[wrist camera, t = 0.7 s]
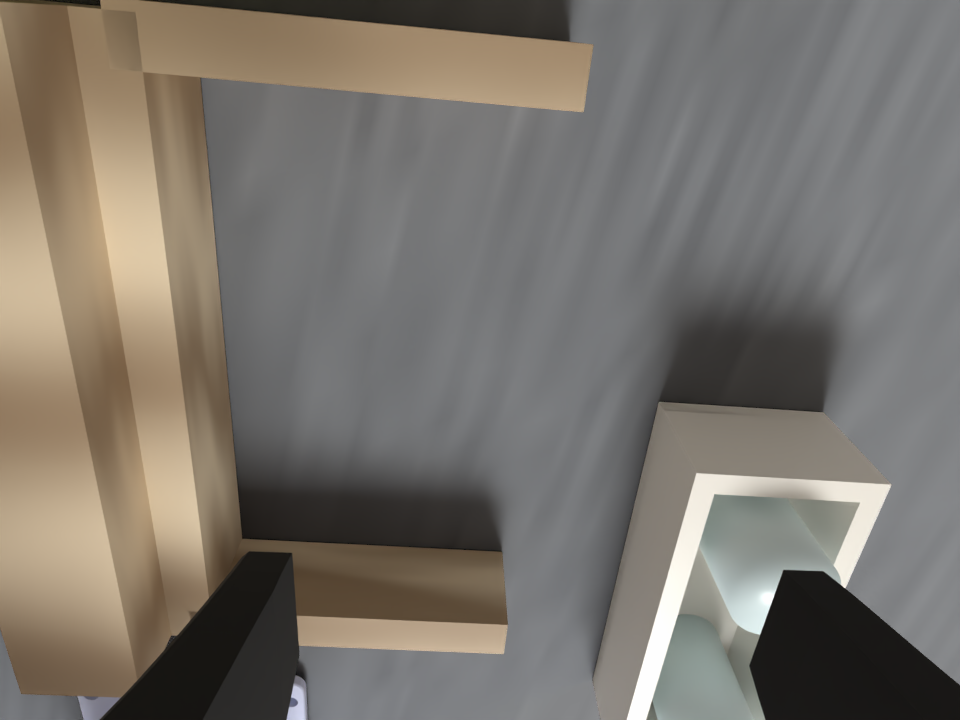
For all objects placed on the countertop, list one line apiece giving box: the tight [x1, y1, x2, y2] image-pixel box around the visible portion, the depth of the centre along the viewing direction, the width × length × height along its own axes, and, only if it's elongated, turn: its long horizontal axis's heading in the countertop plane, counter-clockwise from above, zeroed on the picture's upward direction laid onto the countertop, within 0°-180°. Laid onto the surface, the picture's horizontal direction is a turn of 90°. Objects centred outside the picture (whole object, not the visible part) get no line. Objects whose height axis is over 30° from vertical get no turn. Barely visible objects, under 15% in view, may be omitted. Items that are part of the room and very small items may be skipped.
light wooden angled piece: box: [0, 0, 593, 698], centre depth 16 cm, size 16×13×5 cm
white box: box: [592, 402, 891, 720], centre depth 20 cm, size 12×5×5 cm, turn 175°
